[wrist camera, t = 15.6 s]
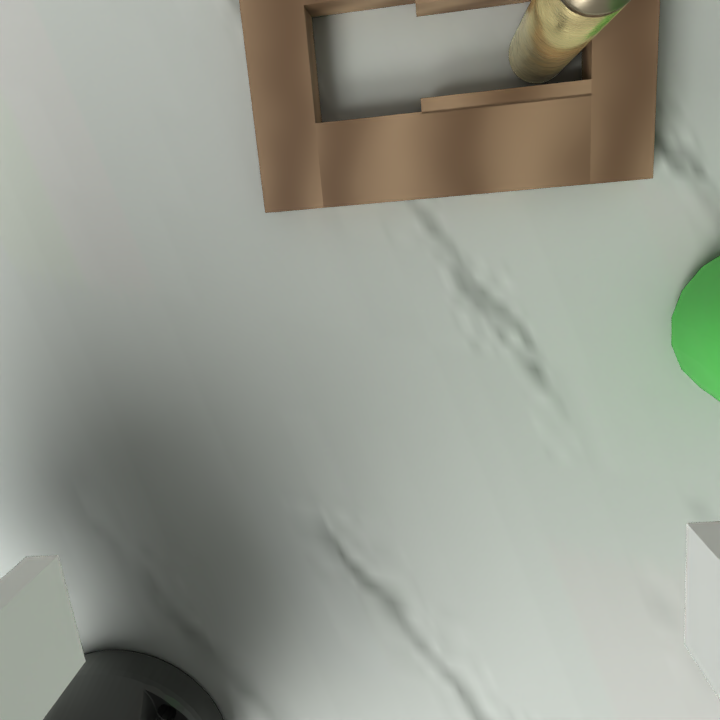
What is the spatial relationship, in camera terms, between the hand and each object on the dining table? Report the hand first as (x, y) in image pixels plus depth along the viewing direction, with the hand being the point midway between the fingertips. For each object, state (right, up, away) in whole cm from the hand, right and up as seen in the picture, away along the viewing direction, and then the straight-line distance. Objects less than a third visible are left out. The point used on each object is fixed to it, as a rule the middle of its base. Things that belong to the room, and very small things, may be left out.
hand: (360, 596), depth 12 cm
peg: (+9, +21, +18) cm, 29 cm away
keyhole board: (+4, +21, +18) cm, 28 cm away
